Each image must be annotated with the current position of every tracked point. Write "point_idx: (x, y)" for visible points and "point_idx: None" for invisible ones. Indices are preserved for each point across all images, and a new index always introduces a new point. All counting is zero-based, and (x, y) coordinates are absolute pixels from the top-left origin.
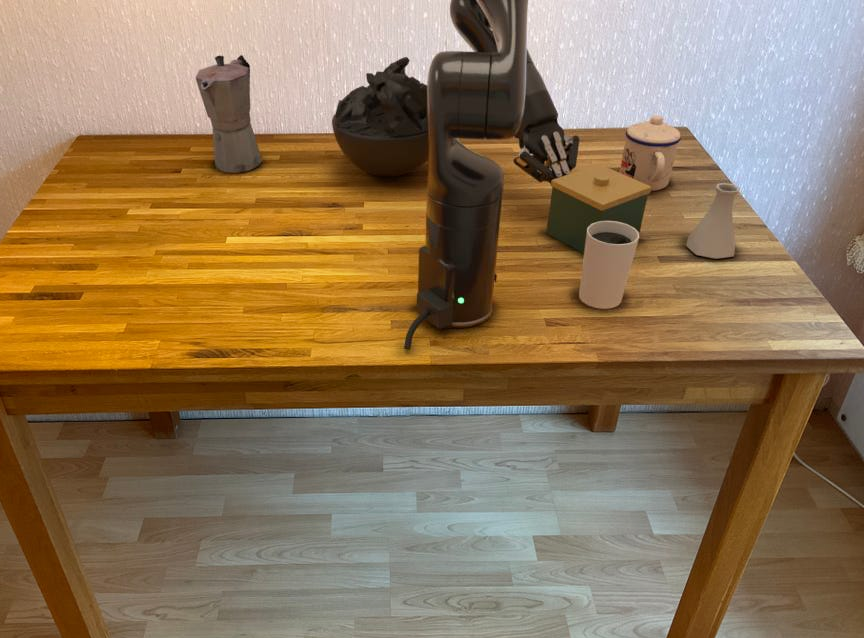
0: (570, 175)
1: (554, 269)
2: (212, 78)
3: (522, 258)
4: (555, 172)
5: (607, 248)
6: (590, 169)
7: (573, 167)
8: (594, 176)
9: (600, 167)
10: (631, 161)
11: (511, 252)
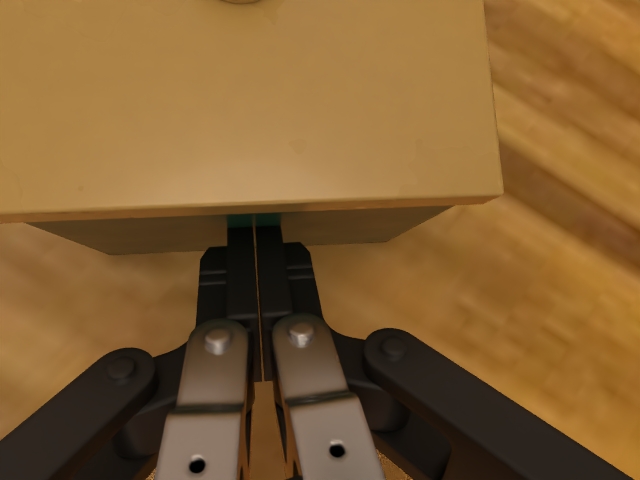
0: (333, 175)
1: (530, 20)
2: None
3: (583, 139)
4: (329, 343)
5: None
6: (114, 173)
7: (132, 352)
8: (190, 61)
9: (13, 155)
10: None
11: (593, 195)
